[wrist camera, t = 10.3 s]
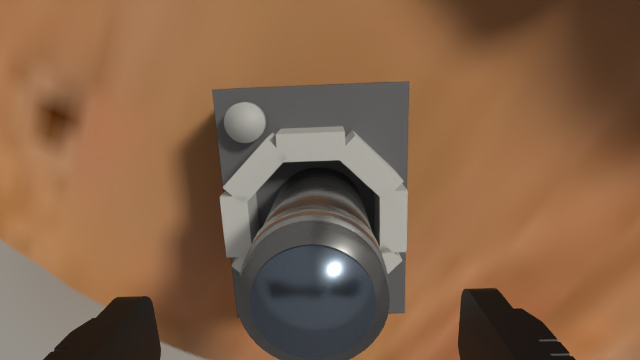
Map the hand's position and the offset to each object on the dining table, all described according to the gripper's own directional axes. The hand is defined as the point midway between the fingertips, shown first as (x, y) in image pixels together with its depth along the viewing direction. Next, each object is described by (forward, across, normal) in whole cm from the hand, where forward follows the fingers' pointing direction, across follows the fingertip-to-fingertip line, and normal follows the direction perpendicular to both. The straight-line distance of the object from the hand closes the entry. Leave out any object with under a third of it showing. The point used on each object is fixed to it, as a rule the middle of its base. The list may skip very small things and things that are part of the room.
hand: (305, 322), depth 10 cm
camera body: (+14, 0, 0) cm, 14 cm away
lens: (+9, 0, 0) cm, 9 cm away
